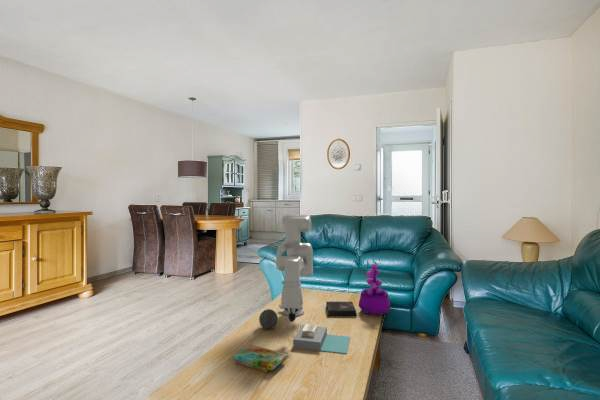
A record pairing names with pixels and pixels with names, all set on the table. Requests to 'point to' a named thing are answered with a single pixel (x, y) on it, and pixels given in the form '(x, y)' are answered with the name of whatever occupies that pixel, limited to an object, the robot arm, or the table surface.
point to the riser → (310, 339)
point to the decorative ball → (268, 319)
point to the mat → (336, 344)
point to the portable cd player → (341, 309)
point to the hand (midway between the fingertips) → (292, 320)
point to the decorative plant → (374, 295)
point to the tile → (309, 330)
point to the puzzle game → (259, 358)
